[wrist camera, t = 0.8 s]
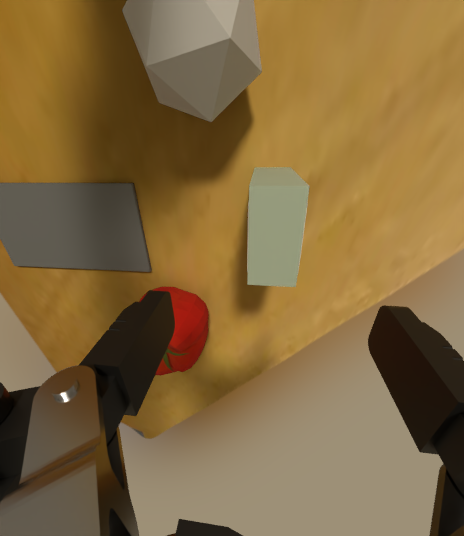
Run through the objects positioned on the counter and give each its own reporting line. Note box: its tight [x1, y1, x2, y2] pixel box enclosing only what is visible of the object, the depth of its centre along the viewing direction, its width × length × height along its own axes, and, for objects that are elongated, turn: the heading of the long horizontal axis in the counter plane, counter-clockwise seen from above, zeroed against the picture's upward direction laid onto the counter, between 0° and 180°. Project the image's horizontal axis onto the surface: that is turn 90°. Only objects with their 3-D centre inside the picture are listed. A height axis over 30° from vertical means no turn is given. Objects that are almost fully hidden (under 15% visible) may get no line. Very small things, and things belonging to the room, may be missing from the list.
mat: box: [0, 183, 152, 272], centre depth 29 cm, size 11×20×1 cm, turn 91°
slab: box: [247, 167, 309, 287], centre depth 20 cm, size 7×4×11 cm, turn 1°
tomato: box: [140, 287, 209, 375], centre depth 30 cm, size 11×11×9 cm
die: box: [122, 0, 262, 122], centre depth 17 cm, size 8×9×10 cm
